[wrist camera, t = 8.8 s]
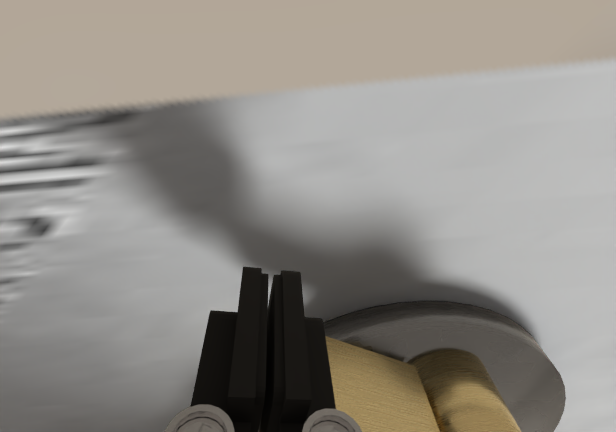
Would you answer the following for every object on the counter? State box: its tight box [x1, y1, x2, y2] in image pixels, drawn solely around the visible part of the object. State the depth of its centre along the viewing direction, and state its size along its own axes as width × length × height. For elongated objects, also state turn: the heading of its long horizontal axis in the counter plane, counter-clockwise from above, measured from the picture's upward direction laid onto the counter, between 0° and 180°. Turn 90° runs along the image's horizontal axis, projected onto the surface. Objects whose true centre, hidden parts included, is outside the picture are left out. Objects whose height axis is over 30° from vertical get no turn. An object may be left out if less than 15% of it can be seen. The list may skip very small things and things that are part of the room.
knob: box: [325, 336, 521, 432], centre depth 12 cm, size 9×4×5 cm, turn 60°
